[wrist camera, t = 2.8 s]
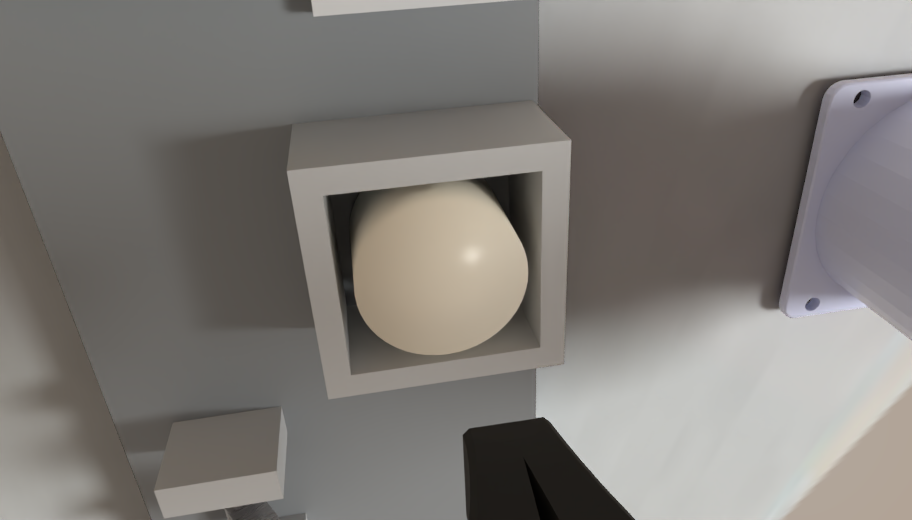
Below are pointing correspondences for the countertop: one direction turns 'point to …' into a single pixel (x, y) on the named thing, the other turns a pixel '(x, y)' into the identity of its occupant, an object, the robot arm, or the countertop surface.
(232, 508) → the lever
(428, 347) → the button
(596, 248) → the countertop surface
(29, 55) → the panel
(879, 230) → the robot arm
